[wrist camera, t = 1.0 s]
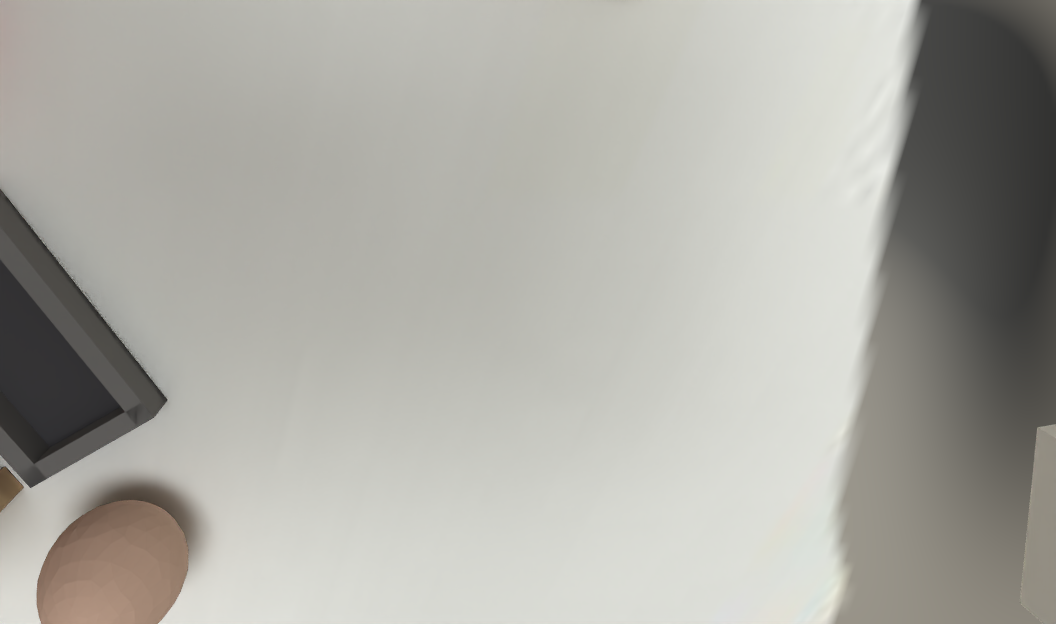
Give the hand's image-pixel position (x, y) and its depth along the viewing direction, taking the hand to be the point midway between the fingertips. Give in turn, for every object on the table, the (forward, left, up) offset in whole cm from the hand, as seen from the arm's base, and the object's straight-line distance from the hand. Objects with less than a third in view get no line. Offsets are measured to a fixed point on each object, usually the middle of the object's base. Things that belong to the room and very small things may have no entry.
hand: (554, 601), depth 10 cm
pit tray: (-5, -18, -25) cm, 31 cm away
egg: (+5, -19, -25) cm, 32 cm away
